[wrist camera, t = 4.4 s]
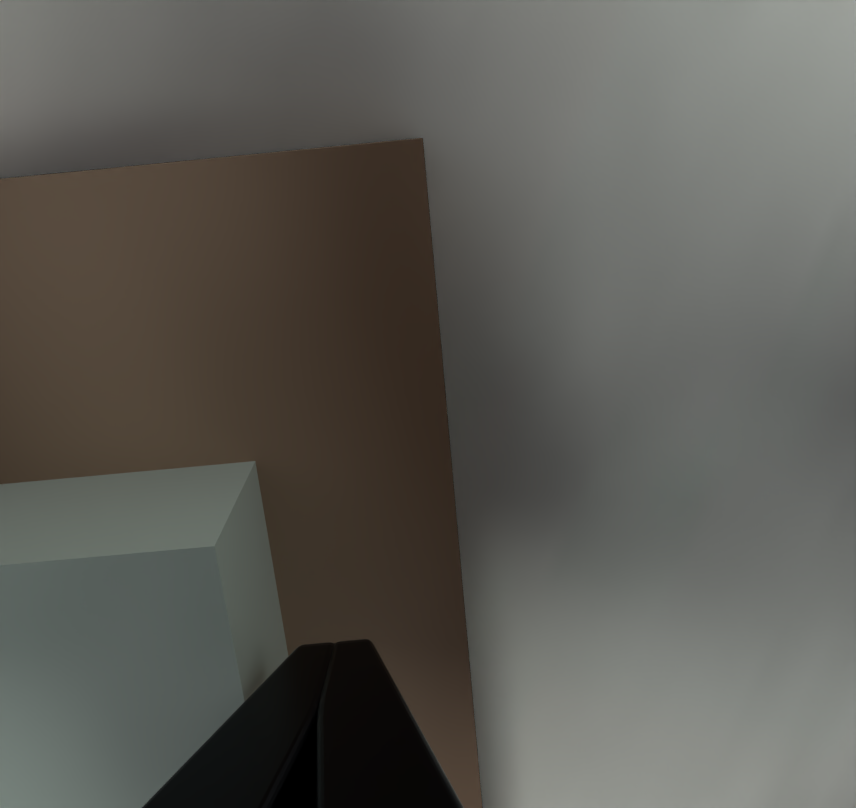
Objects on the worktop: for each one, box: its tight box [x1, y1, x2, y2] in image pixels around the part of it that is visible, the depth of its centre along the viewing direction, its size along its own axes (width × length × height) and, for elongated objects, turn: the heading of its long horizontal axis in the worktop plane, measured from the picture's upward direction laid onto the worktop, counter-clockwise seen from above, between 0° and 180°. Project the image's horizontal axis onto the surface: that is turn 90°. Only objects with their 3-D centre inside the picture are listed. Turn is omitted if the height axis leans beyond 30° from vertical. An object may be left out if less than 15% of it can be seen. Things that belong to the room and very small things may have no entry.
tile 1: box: [0, 461, 288, 808], centre depth 9 cm, size 4×4×2 cm
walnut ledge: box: [0, 138, 482, 808], centre depth 11 cm, size 12×12×2 cm
